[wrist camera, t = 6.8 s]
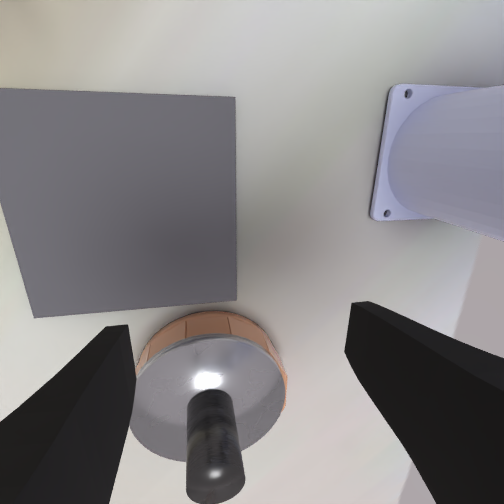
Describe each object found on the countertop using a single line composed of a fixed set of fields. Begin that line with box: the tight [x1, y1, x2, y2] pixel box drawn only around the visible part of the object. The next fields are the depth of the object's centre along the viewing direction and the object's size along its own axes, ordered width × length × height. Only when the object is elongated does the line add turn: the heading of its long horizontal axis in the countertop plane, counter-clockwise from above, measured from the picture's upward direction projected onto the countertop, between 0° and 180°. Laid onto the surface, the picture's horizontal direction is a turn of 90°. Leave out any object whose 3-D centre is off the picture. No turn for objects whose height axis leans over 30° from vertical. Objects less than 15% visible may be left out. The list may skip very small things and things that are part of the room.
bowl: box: [135, 311, 287, 412], centre depth 21 cm, size 10×10×3 cm
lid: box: [129, 333, 285, 504], centre depth 17 cm, size 10×10×5 cm
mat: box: [0, 88, 237, 318], centre depth 17 cm, size 12×12×1 cm
